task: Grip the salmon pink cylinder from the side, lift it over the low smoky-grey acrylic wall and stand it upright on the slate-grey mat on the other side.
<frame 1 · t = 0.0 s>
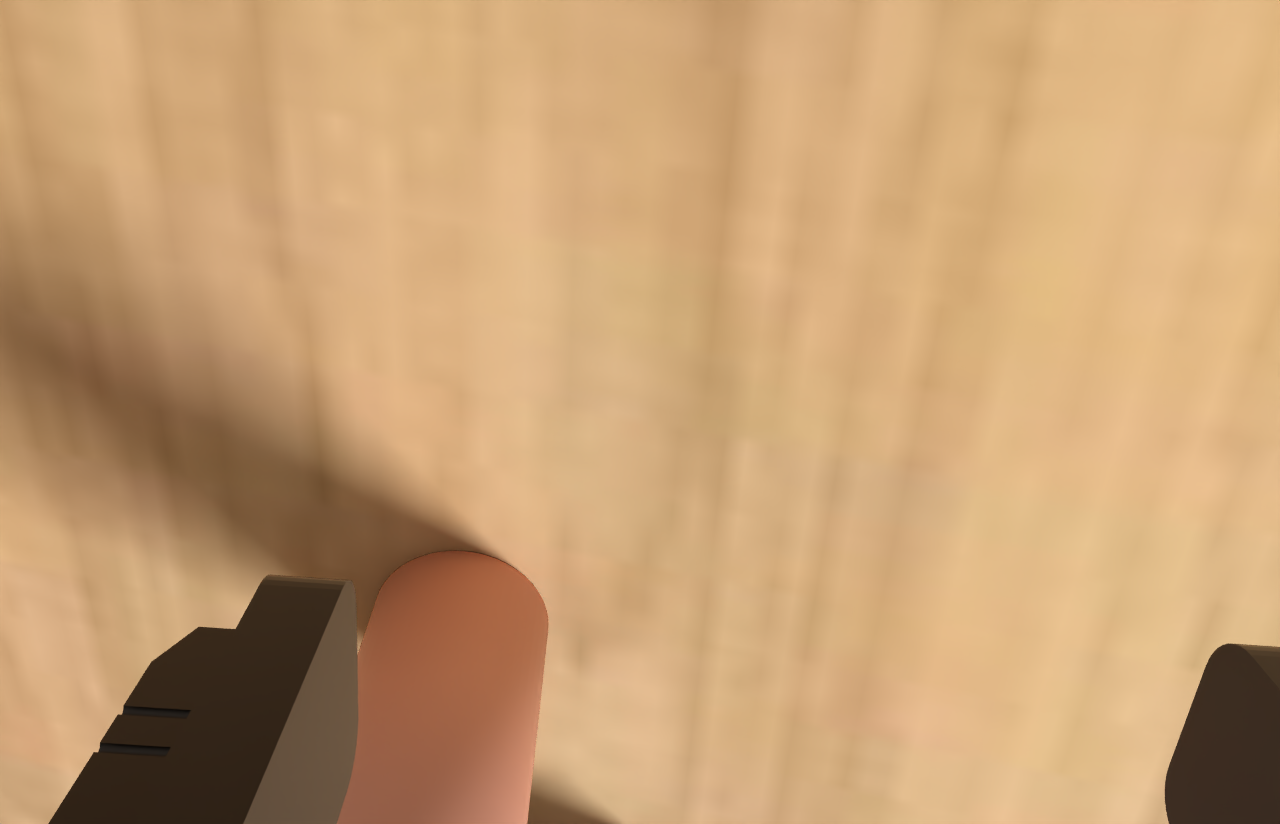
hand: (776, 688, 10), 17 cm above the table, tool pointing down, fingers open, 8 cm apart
salmon pink cylinder: (461, 621, 32), on the table
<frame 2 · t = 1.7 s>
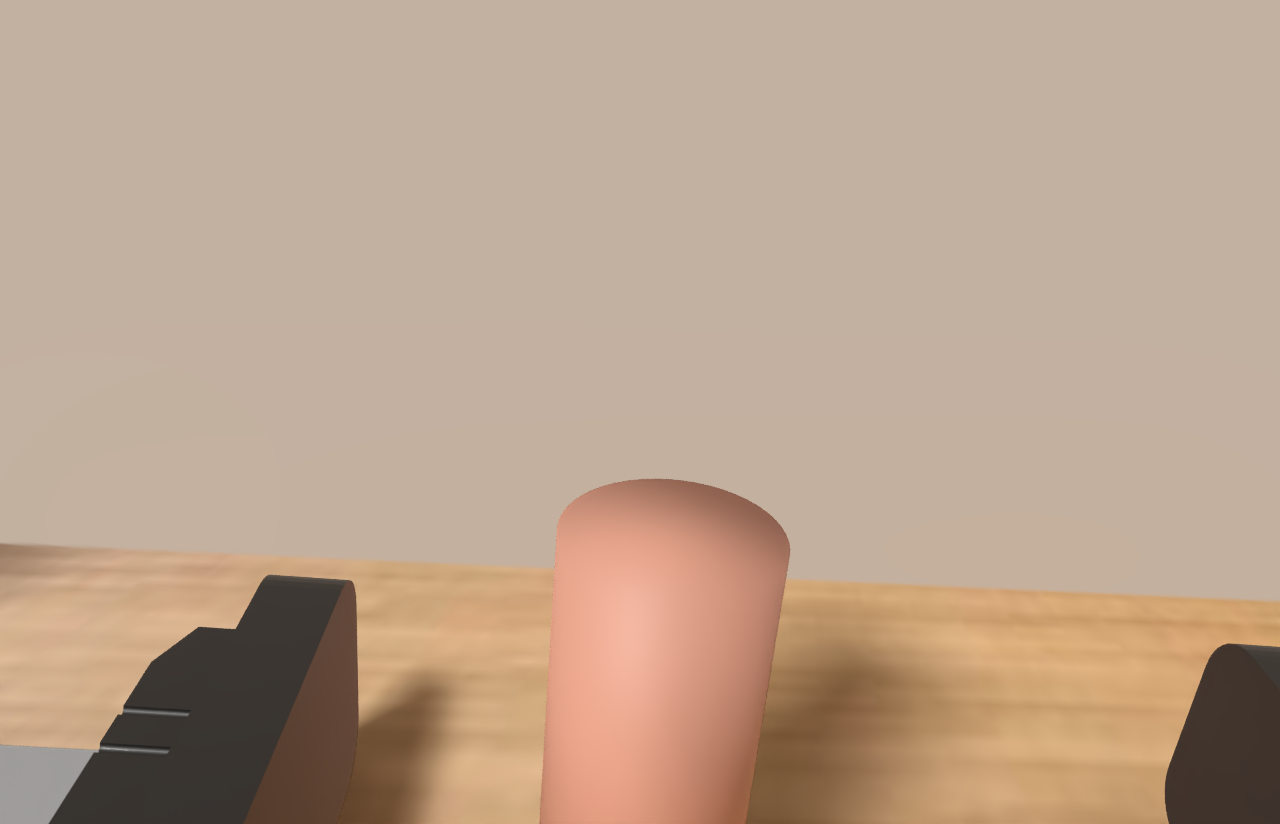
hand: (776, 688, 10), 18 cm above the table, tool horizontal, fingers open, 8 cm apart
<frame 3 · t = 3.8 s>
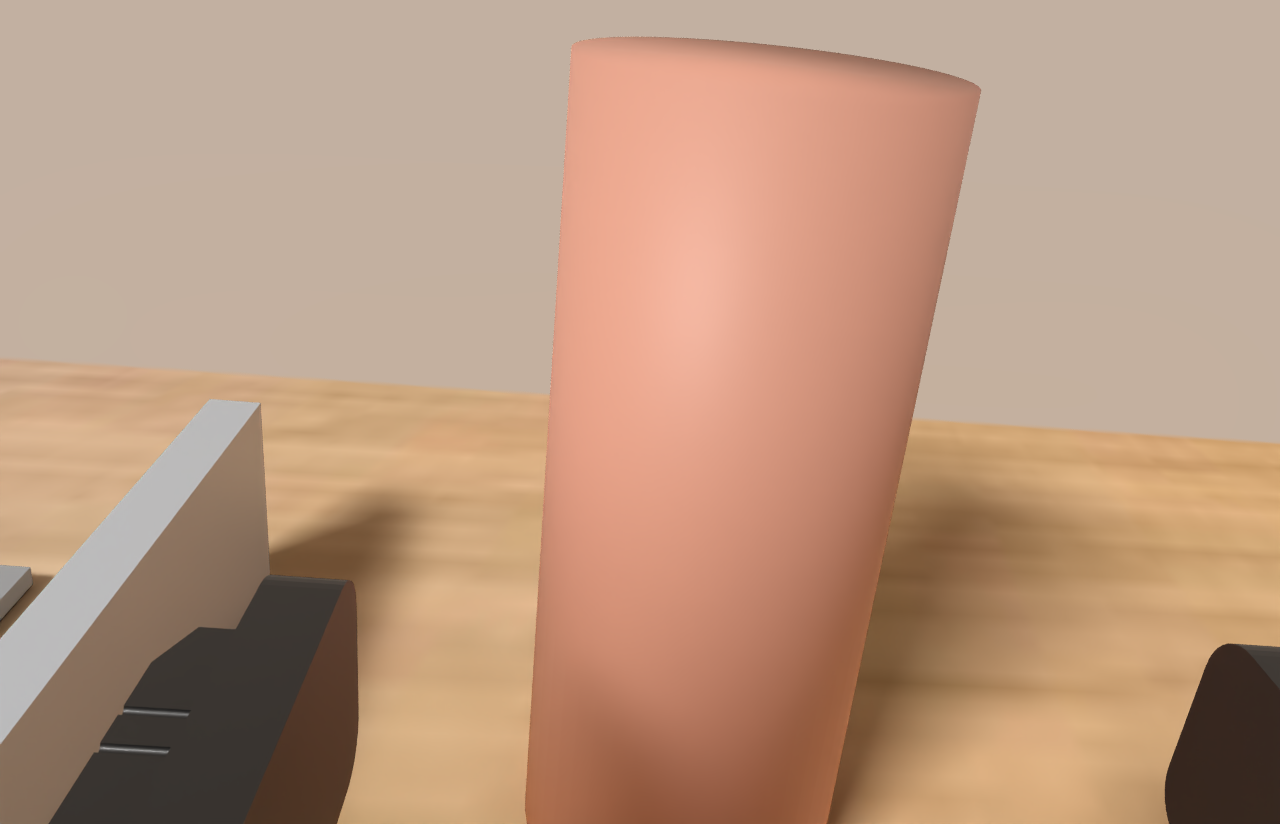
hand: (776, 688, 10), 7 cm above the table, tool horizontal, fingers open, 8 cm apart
salmon pink cylinder: (674, 805, 18), on the table
acrylic wall: (130, 769, 18), on the table
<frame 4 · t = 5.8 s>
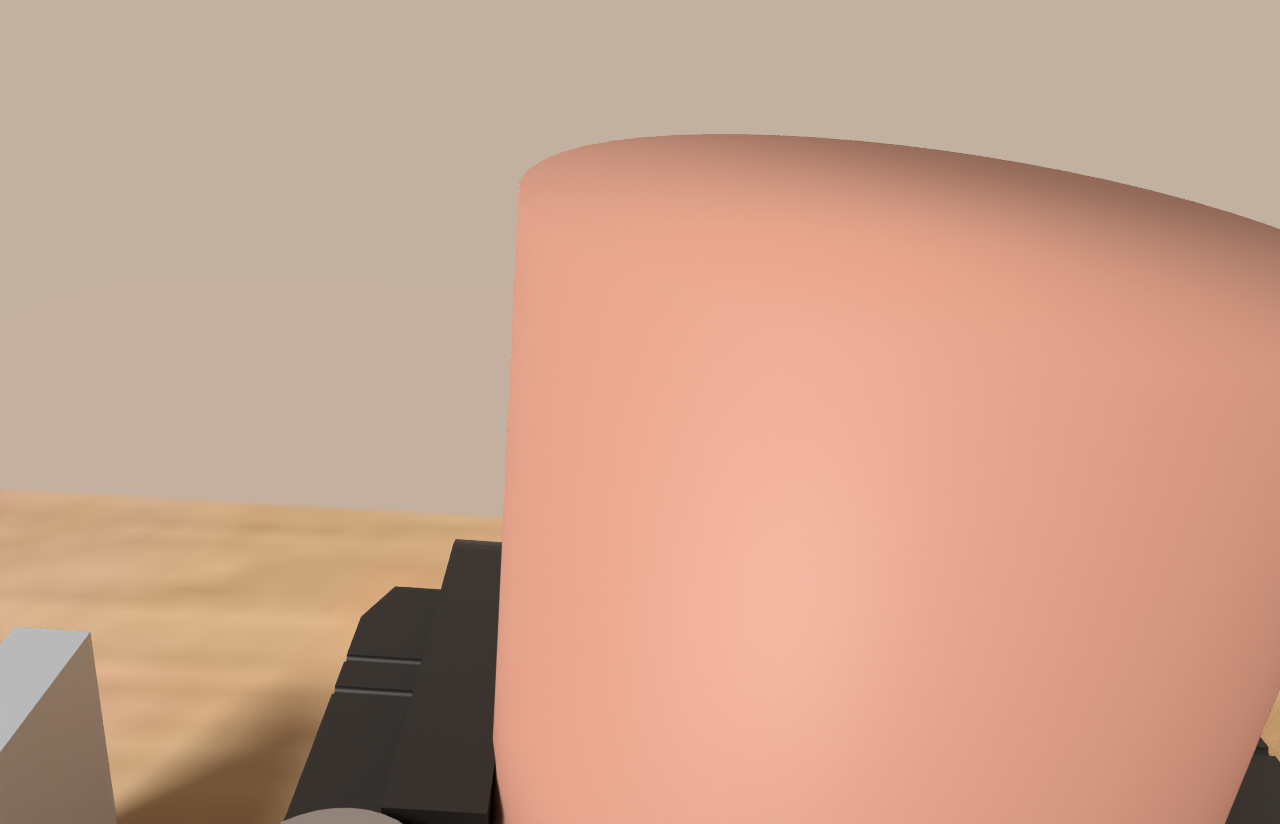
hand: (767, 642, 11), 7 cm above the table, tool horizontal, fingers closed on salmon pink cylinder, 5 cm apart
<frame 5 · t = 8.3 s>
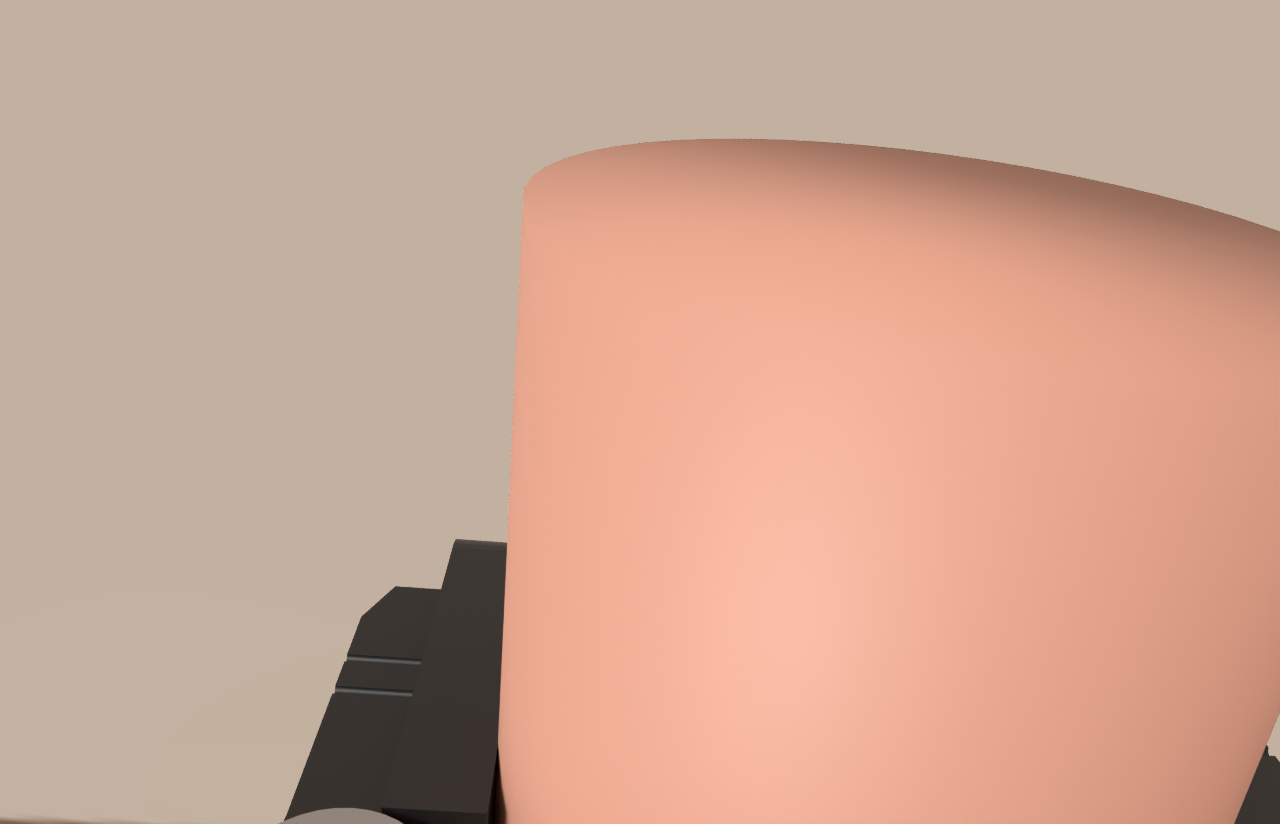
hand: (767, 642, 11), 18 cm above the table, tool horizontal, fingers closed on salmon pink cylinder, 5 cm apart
when the fingers open (8 cm above the table, at t = 11.1 s): salmon pink cylinder stays where it is, resting on resting mat.
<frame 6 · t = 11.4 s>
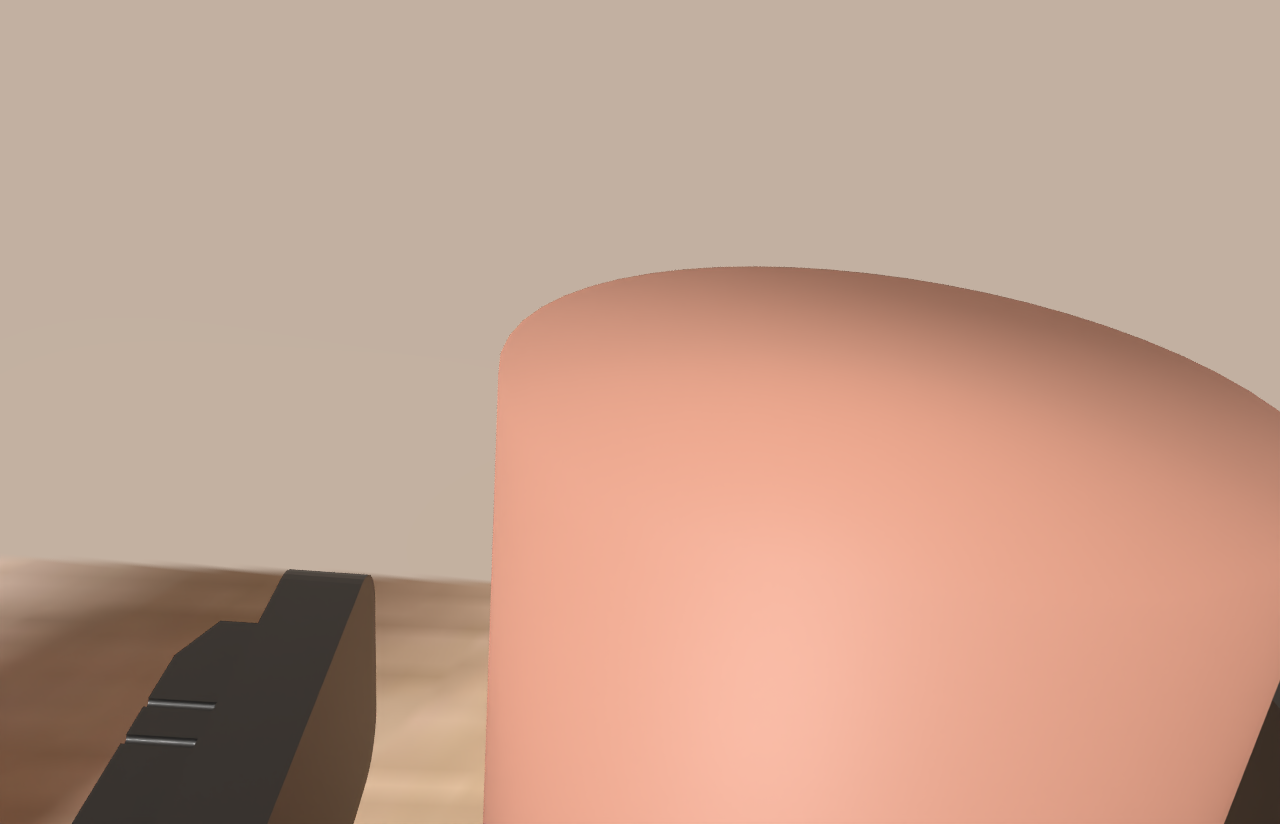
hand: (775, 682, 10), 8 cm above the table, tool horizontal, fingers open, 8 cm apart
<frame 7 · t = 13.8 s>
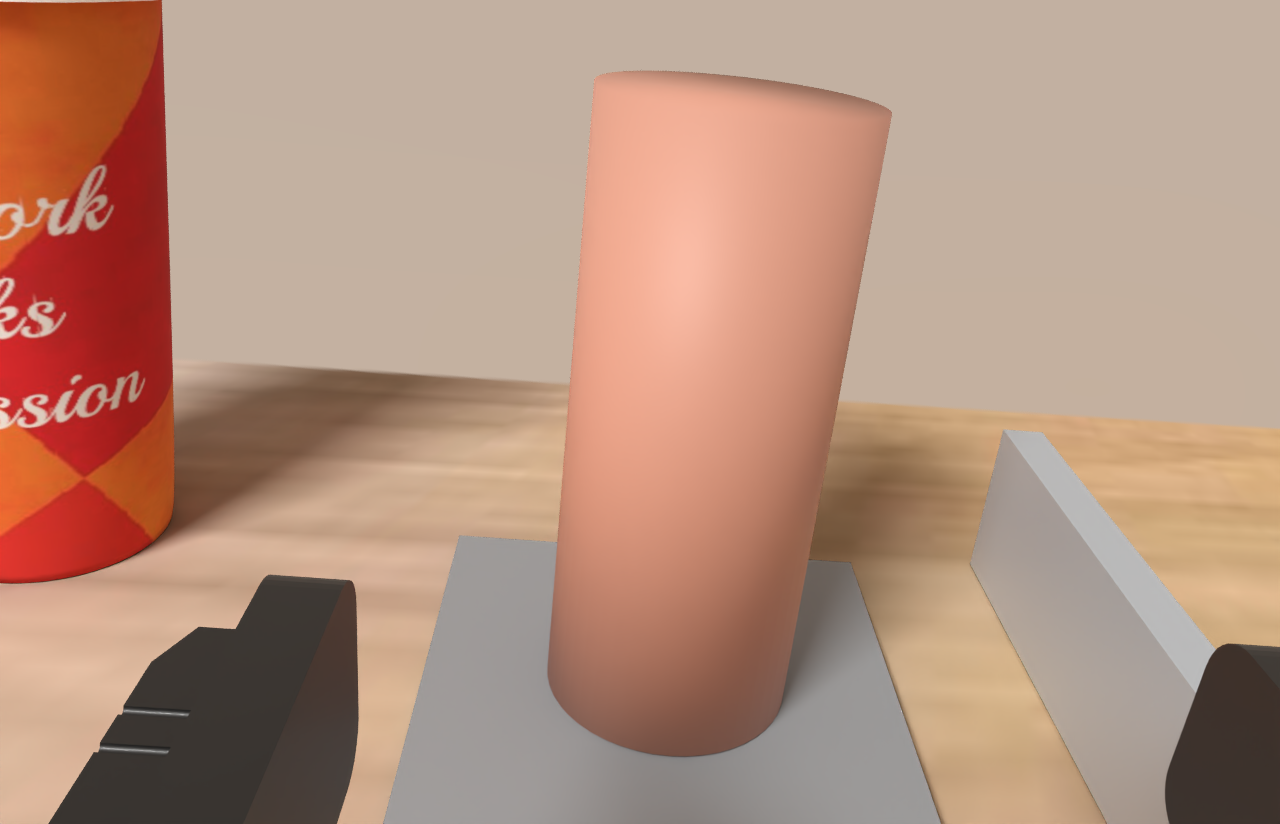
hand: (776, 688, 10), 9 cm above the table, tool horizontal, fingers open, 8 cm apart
resting mat: (661, 688, 24), on the table
paper cup: (58, 529, 28), on the table
salmon pink cylinder: (665, 674, 23), resting on resting mat
acrylic wall: (1070, 713, 24), on the table
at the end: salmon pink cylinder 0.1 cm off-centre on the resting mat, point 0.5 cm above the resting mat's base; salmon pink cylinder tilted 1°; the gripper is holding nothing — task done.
